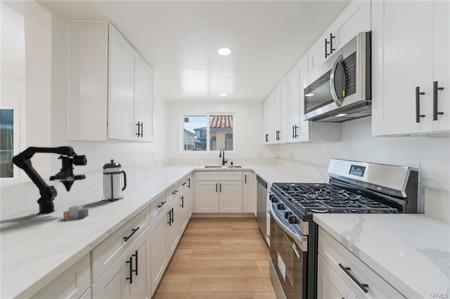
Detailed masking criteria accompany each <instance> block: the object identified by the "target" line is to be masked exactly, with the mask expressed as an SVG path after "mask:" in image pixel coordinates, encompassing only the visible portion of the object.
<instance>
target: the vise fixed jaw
mask: <svg viewBox="0 0 450 299" xmlns="http://www.w3.org/2000/svg"><path fill="white" fill-rule="evenodd" d="M88 216H89V208H82V209H81V210H79V211H78V218H77V219H85V218H87V217H88Z"/></svg>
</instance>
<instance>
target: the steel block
mask: <svg viewBox="0 0 450 299" xmlns="http://www.w3.org/2000/svg"><path fill="white" fill-rule="evenodd" d="M68 209H69V220H70V219H71V220H72V219H78V211H79V210H81V209H83V205H72V206H70V207H68Z"/></svg>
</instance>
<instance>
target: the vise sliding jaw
mask: <svg viewBox="0 0 450 299" xmlns="http://www.w3.org/2000/svg"><path fill="white" fill-rule="evenodd" d="M62 214H63V220H68V219H69V208H68V209H67V210H64V211H63V213H62ZM69 220H70V219H69Z"/></svg>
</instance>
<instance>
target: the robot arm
mask: <svg viewBox="0 0 450 299" xmlns="http://www.w3.org/2000/svg"><path fill="white" fill-rule="evenodd" d="M35 154H56V155H59V156H58V157H57V160H61V168H60V169H59V172H57V173H55V174H54V175H50V176H49V178H48V181H50V182H53V181H54V182H55V181H56V180H57V181H58V180H59V181H58V182H59V183H61V184H63V187H64V188H65V190H66V192H67V193H68V192H70V191H71V189H72V187H73V184H74V183H75V182H76V181H82V180H86V179H87V178H86V177H87V176H86V175H85V174H76V175H75V173H74V170H75V167H81V166H82V167H83V166H88V165H87V164H88V160H87V157H86V154H79V155H78V154H77V153H76V151H75V149H74V148H73V147H72V146H71V145H62V146H60V145H59V146H54V147H53V146H46V147H45V146H28V147H27V148H26V149H24V150H22V151H21V152H18V153H17V154H16V155H13V156H12V158H11V162H12V164H13V165H15V166H16V167H17V168H19V169H21V170H22V171H23V172H24V173H25V175H27V177H28V178H29V179H30V181H32V183H33V184H34V185H35V187H37V189H38V192H39V193H38V194H39V196H40V197H39V198H38V199H37V200H36V203H37V204H38V212H37V215H39V214H40V215H42V214H45V215H46V214H51V213H53V212H55V211H56V209H55V204H54V201H55V198H57V196H58V189H56V188H55V185H54V184H53V185H49V184H47V182H46V181H45V180H44V179H43V178H42V176H41V174H39V172H38V171H37V170H36V168H34V166H33V162H32V160H31V159H32V158H33V157H34V155H35ZM74 166H75V167H74Z"/></svg>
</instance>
